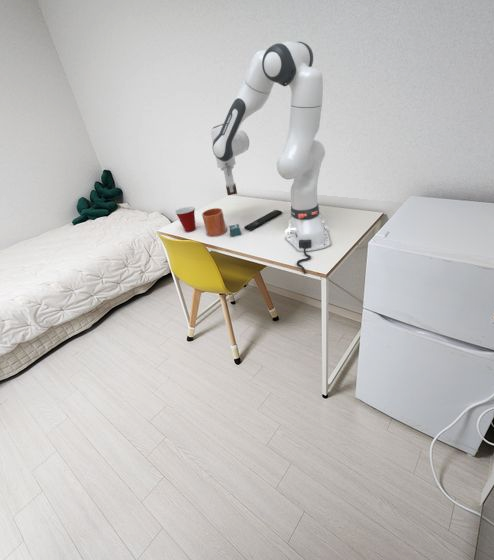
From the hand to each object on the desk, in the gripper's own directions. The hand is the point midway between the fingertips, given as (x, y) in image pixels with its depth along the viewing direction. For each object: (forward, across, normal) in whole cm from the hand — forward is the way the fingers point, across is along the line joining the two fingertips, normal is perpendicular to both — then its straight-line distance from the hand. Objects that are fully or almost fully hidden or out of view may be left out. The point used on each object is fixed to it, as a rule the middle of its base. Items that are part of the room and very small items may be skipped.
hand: (231, 190), depth 155 cm
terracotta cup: (+18, -5, +12) cm, 22 cm away
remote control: (+19, -3, -14) cm, 23 cm away
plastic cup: (+18, +5, +26) cm, 33 cm away
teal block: (+18, -12, +2) cm, 22 cm away
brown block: (+2, 0, 0) cm, 2 cm away
